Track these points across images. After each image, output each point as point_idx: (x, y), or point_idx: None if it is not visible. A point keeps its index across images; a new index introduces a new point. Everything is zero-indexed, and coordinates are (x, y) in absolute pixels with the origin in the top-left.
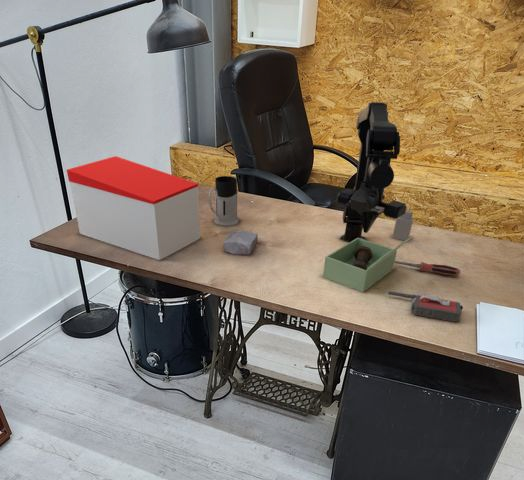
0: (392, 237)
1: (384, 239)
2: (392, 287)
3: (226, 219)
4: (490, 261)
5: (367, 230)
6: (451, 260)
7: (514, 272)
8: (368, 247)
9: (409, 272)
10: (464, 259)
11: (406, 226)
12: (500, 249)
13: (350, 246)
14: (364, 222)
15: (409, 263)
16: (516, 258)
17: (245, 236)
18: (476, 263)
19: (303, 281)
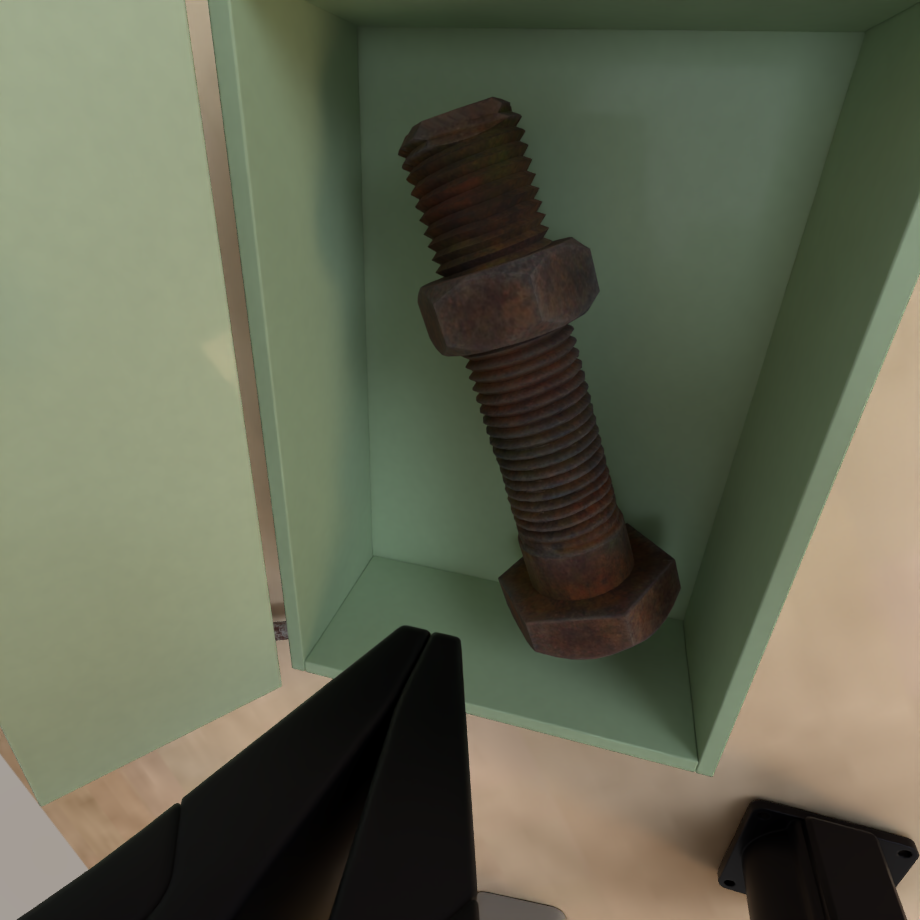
0: (561, 911)
1: (594, 886)
2: (230, 296)
3: None
4: (110, 801)
5: (361, 666)
6: (210, 767)
7: (7, 747)
8: (546, 652)
9: (275, 568)
10: (181, 790)
11: None
12: None
13: (736, 614)
14: (370, 849)
15: (284, 633)
16: (75, 844)
17: None
18: (130, 772)
19: None
